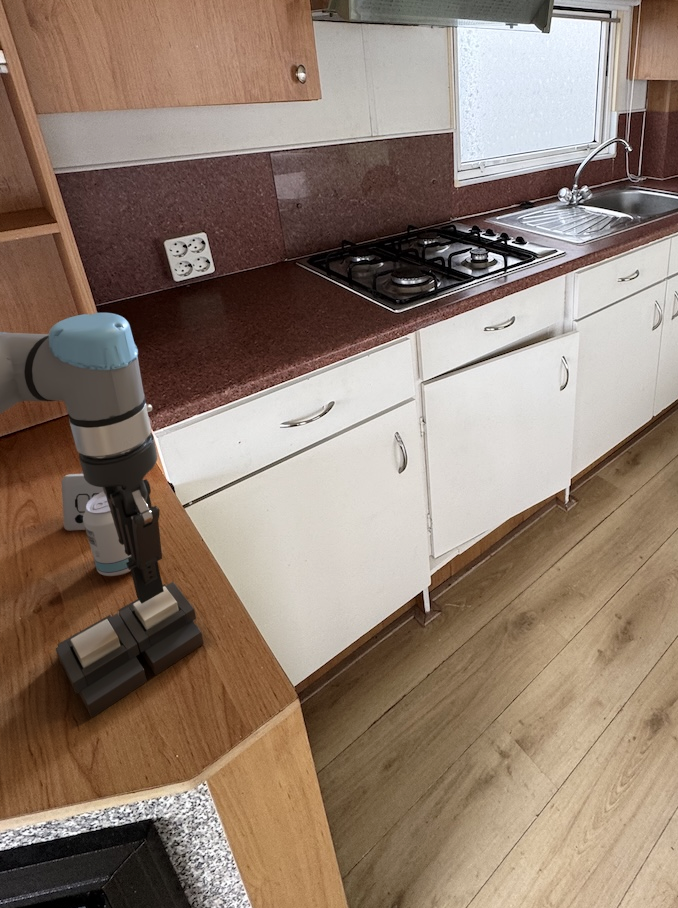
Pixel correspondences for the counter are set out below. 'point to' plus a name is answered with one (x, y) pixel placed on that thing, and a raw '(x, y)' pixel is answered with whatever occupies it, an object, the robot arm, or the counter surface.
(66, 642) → the near key block
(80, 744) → the counter surface
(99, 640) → the c key
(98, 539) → the beverage can
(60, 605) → the counter surface
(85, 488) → the electrical switch
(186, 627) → the far key block
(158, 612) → the e key
